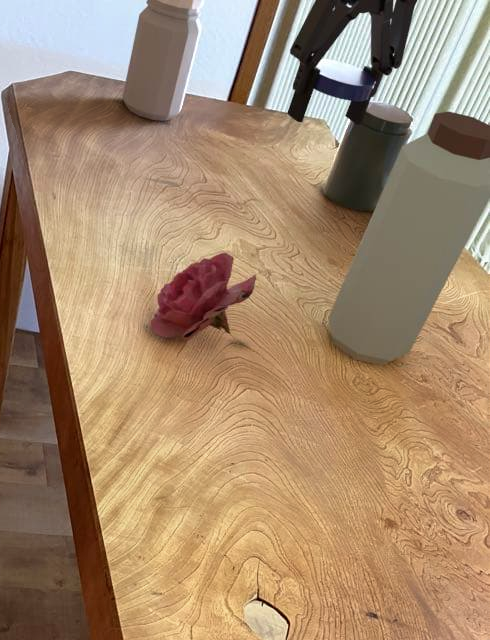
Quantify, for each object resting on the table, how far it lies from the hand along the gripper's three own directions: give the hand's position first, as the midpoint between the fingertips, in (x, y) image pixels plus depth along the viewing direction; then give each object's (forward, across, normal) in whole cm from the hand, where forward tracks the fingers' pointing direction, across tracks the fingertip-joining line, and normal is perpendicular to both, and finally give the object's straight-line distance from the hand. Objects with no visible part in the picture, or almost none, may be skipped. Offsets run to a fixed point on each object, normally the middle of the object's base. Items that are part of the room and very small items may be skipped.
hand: (324, 119), depth 121 cm
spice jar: (+12, -12, -2) cm, 17 cm away
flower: (+12, +33, +29) cm, 46 cm away
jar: (+12, +8, -32) cm, 35 cm away
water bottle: (+12, +12, +34) cm, 38 cm away
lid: (-6, 0, 0) cm, 6 cm away
